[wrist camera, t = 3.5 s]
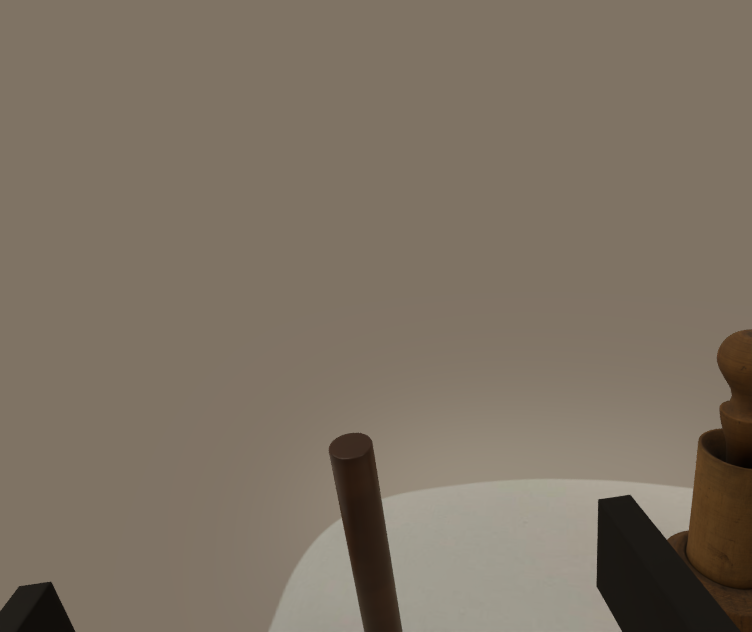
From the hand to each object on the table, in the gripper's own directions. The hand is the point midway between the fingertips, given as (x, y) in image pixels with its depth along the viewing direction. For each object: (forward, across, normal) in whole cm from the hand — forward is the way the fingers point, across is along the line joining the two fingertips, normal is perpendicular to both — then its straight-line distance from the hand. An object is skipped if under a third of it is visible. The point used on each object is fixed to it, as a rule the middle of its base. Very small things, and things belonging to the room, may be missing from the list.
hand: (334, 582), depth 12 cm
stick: (+10, 0, -20) cm, 22 cm away
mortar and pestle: (+13, +21, -20) cm, 32 cm away
